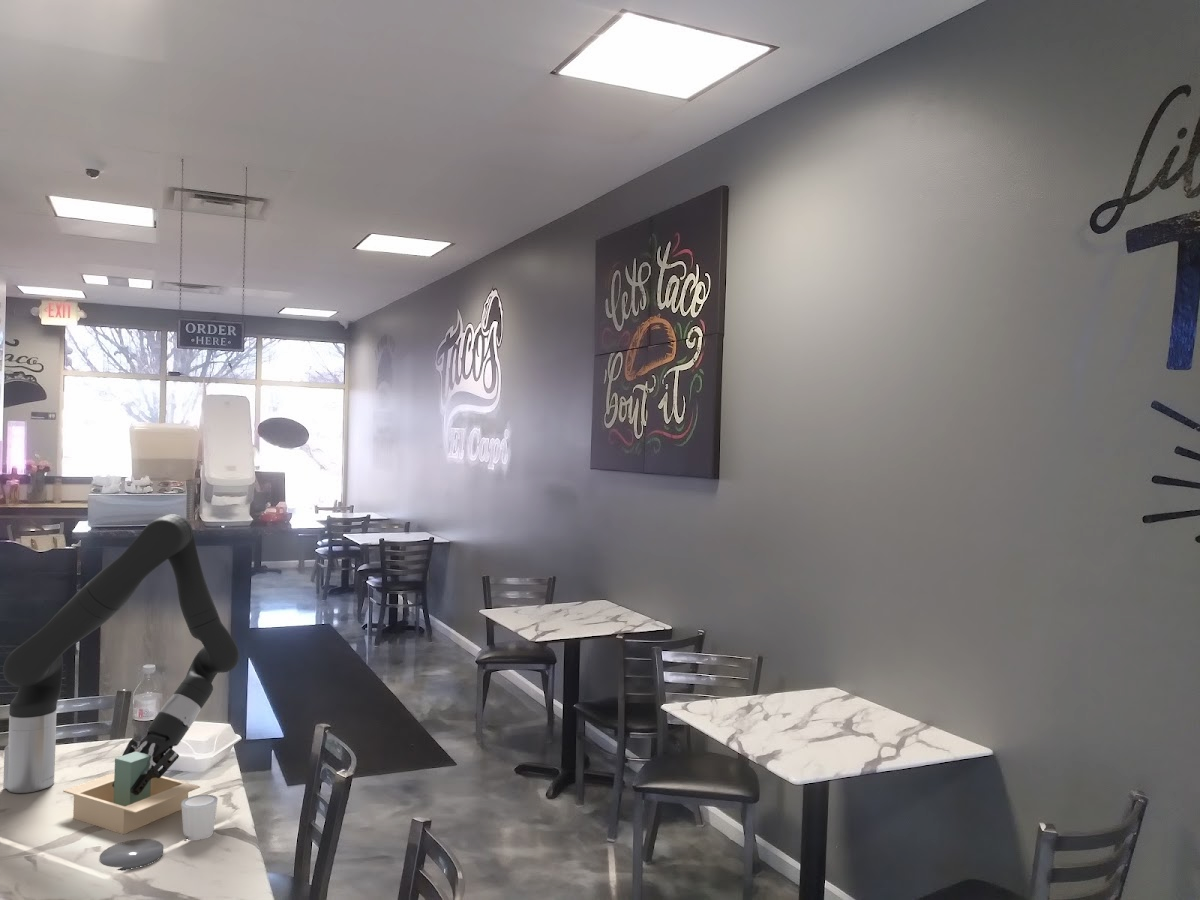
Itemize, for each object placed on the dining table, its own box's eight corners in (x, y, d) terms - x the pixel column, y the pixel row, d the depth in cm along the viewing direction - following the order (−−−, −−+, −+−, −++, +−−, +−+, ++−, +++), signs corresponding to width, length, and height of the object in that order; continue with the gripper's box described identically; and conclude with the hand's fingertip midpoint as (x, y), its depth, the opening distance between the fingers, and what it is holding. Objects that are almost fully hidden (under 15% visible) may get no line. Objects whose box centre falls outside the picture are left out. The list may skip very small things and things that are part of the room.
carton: (62, 818, 186) (63, 790, 186) (128, 793, 201) (129, 767, 201) (134, 841, 177) (135, 812, 177) (199, 813, 191) (200, 786, 191)
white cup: (180, 844, 177) (181, 809, 177) (179, 830, 183) (180, 797, 183) (217, 838, 180) (218, 804, 180) (215, 824, 186) (216, 792, 186)
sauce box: (112, 814, 188) (114, 758, 188) (134, 805, 192) (136, 751, 192) (129, 819, 185) (130, 762, 185) (150, 810, 190) (152, 755, 190)
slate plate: (85, 866, 166) (85, 861, 166) (127, 841, 177) (127, 836, 177) (136, 873, 164) (136, 868, 164) (175, 847, 175) (175, 842, 175)
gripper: (142, 706, 199) (90, 776, 188) (187, 716, 193) (136, 789, 182) (162, 723, 203) (113, 792, 192) (206, 733, 197) (158, 805, 186)
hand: (124, 790), depth 187 cm, fingers closed on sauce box, 5 cm apart
